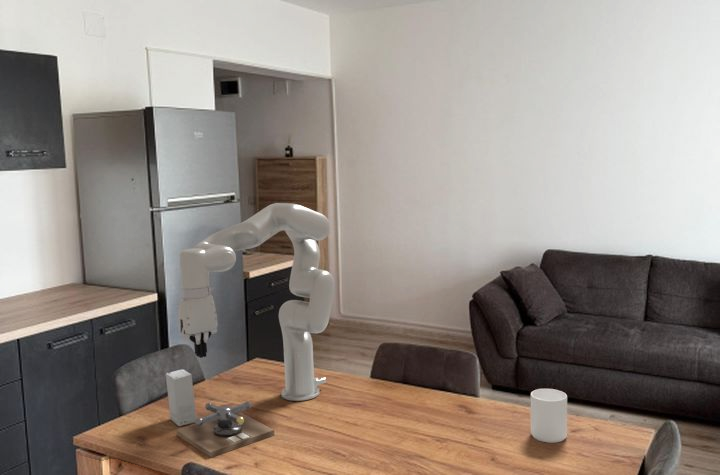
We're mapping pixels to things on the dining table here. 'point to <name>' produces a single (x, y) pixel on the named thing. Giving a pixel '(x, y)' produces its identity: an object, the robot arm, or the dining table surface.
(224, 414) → the capstan
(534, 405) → the mug
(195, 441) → the board
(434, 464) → the dining table surface
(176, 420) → the skincare box
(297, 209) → the robot arm
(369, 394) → the dining table surface
